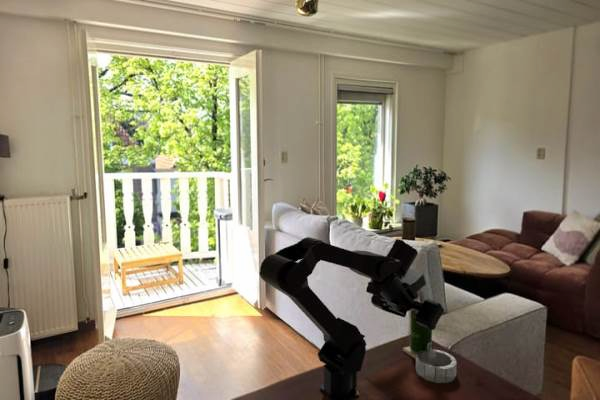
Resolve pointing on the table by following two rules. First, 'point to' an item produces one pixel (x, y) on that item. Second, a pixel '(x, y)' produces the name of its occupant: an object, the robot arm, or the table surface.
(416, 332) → the beer can
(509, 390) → the table surface
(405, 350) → the cork coaster
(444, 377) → the ring holder
